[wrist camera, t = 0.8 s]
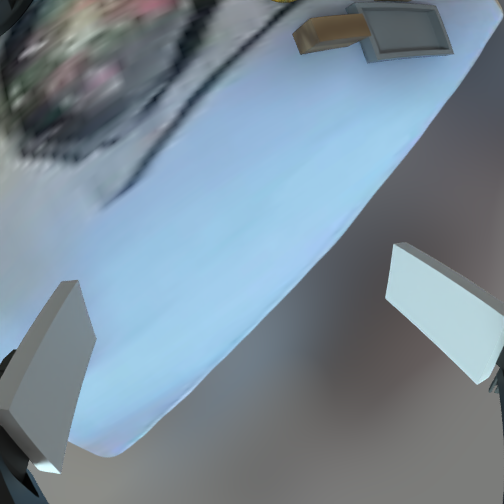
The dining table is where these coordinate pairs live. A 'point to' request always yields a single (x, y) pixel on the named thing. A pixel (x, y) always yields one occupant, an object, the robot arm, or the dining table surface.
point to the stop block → (331, 32)
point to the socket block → (394, 0)
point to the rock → (283, 1)
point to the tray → (402, 31)
